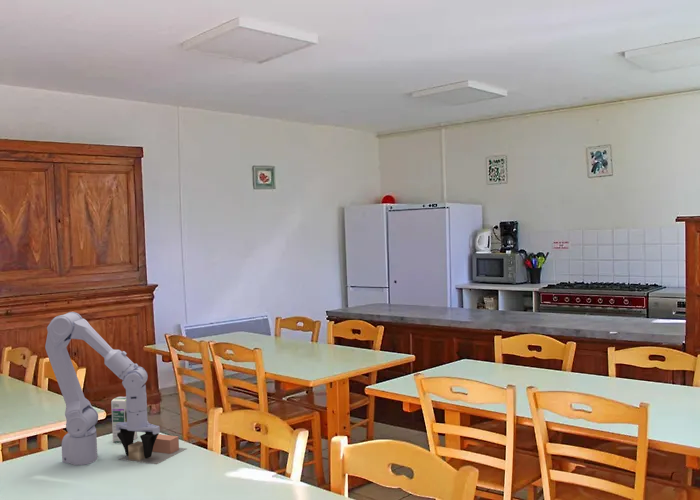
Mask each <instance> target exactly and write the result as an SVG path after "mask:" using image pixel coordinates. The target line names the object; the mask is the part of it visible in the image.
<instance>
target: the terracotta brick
mask: <svg viewBox="0 0 700 500" xmlns="http://www.w3.org/2000/svg"><path fill="white" fill-rule="evenodd" d="M179 448H180V441H179V435H178V436H177V435H167V434H160V433H159V434H158V436H157V438H156V440H155V443H154V446H153V450H152V452H160V453H168V454H171V453H173V452H175V451H177V450H179Z"/></svg>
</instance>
